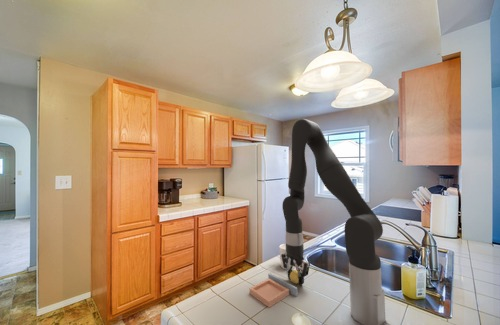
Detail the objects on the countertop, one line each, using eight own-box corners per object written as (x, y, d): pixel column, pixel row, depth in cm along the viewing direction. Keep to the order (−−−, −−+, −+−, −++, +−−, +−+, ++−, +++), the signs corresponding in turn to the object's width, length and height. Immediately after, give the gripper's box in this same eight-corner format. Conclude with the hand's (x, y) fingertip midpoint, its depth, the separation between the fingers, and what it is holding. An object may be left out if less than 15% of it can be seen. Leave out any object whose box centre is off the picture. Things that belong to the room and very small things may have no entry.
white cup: (294, 263, 107) (294, 243, 108) (296, 270, 99) (296, 249, 100) (279, 262, 108) (278, 243, 108) (280, 270, 100) (279, 249, 100)
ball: (304, 283, 88) (303, 271, 88) (296, 287, 85) (296, 275, 85) (294, 278, 92) (294, 267, 92) (287, 282, 89) (287, 270, 89)
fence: (297, 295, 80) (297, 287, 80) (296, 296, 79) (295, 288, 79) (270, 280, 92) (269, 273, 92) (268, 280, 91) (268, 273, 91)
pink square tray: (289, 294, 81) (289, 289, 81) (269, 307, 74) (269, 301, 74) (269, 283, 89) (269, 278, 89) (249, 293, 82) (249, 288, 82)
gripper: (313, 244, 86) (315, 285, 86) (287, 236, 97) (288, 272, 97) (303, 248, 81) (304, 292, 81) (276, 239, 92) (277, 278, 92)
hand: (295, 281), depth 89 cm, fingers closed on ball, 5 cm apart
